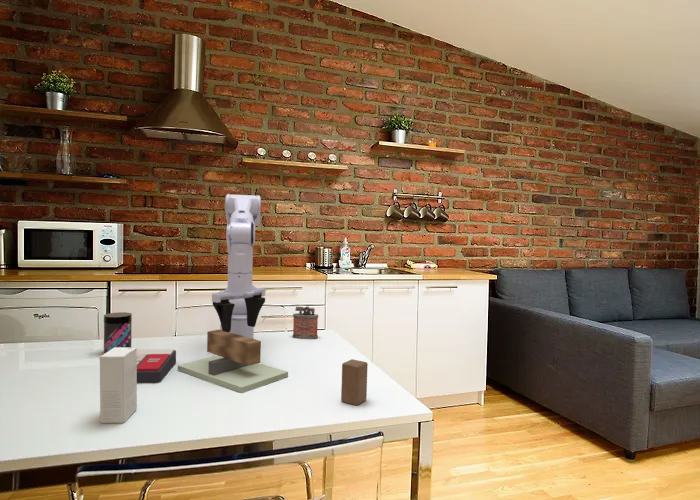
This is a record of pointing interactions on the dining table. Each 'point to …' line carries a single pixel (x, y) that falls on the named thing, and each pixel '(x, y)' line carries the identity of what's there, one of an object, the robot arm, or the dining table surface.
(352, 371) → the wooden block
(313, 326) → the lighter
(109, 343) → the supplement container
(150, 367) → the red and black box
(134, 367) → the skincare box
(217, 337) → the walnut batten
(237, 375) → the stand
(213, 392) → the dining table surface
